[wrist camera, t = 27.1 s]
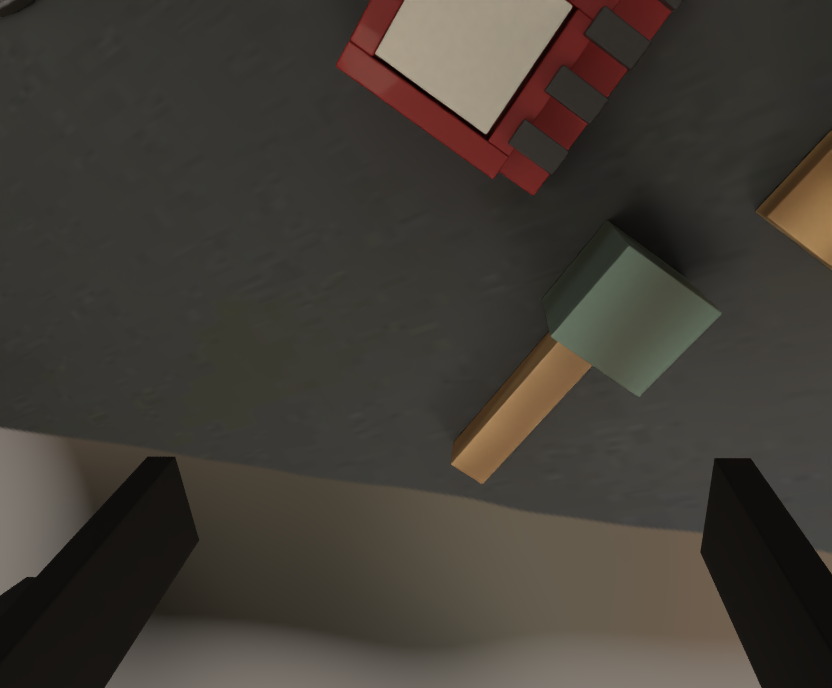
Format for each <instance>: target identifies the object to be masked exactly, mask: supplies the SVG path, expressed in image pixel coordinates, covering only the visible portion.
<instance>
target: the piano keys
mask: <svg viewBox="0 0 832 688" xmlns="http://www.w3.org/2000/svg"><path fill="white" fill-rule="evenodd" d="M658 1H659V2H660V3H662V4H663V5H664V6H665V7H667V8H668V9H669V10H670V11H674V10H676V9H677V8H678V7H679V6H680V4H681V3H682V2H683V0H658ZM583 35H584V36H585V37H586V38H587V39H589V40H590V41H591V42H592V43H594V44H595V45H596V46H598V47H599V48H600V49H601V50H603V51H604V52H605V53H607V54H608V55H609V56H610V57H612V58H613V59H614V60H616V61H617V62H618V63H619V64H621V65H622V66H623V67H625V68H626V69H627V70H630V69H632V68H633V67H634V66H635V64H636V63H637V62H638V60H639V59H640V58H641V56H642V55H643V54H644V52H645V51H646V50H647V48H648V47H649V46H650V44H651V41H650V40H648V39H647V38H646V37H645V36H643V35H642V34H641V33H640V32H638V31H637V30H636V29H634V28H633V27H632V26H631V25H629V24H628V23H627V22H626V21H624V20H623V19H622V18H621V17H619V16H618V15H617V14H615V13H614V12H613V11H612V10H610V9H609V8H608V7H607V6H603V7H602V8H601V9H600V10H599V12H598V13H597V15H596V16H595V18H594V19H593V20H592V22H591V23H590V25H589V26H588V28H587V29H586V30H585V32H584V34H583ZM544 91H545V92H546V93H547V94H549V95H550V96H551V97H552V98H554V99H555V100H556V101H558V102H559V103H560V104H562V105H563V106H564V107H566V108H567V109H568V110H570V111H571V112H572V113H574V114H575V115H576V116H578V117H579V118H580V119H582V120H583V121H584V122H586V123H587V124H591V123H592V121H593V120H594V119H595V117H596V116H597V115H598V113H599V112H600V111H601V110H602V108H603V107H604V106H605V104H606V103H607V102H608V98H607V97H606V96H604V95H603V94H602V93H600V92H599V91H598V90H596V89H595V88H594V87H592V86H591V85H590V84H589V83H587V82H586V81H585V80H583V79H582V78H581V77H579V76H578V75H577V74H575V73H574V72H573V71H572V70H570V69H569V68H568V67H566V66H565V65H561V66H560V68H559V69H558V71H557V72H556V73H555V75H554V76H553V78H552V79H551V81H550V82H549V84H548V85H547V86H546V88H545V89H544ZM508 143H509V145H511V146H512V147H514V148H515V149H516V150H518V151H519V152H520V153H522V154H523V155H525V156H526V157H527V158H529V159H530V160H531V161H533V162H534V163H535V164H537V165H538V166H540V167H541V168H542V169H544V170H545V171H546V172H548V173H549V174H551V175H553V173H554V172H555V171H556V169H557V168H558V167H559V165H560V164H561V163H562V161H563V160H564V159H565V157H566V156H567V155H568V153H569V151H568V150H567V149H565V148H564V147H563V146H561V145H560V144H559V143H557V142H556V141H555V140H553V139H552V138H551V137H549V136H548V135H547V134H545V133H544V132H543V131H541V130H540V129H539V128H537V127H536V126H534V125H533V124H532V123H530V122H529V121H528V120H526V119H523V121H522V122H521V124H520V125H519V127H518V128H517V129H516V131H515V132H514V134H513V135H512V137H511V138H510V139H509V141H508Z"/></svg>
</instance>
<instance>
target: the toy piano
mask: <svg viewBox="0 0 832 688" xmlns="http://www.w3.org/2000/svg"><path fill="white" fill-rule="evenodd" d="M566 1H567V2H569V3H570V4H571V5H572V9H571V10H570V12H569V13H568V15H567V16H566V17H565V19H564V20H563V22H562V23H561V25H560V26H559V28H558V29H557V31H556V32H555V34H554V35H553V37H552V38H551V40H550V41H549V43H548V44H547V46H546V47H545V49H544V50H543V51H542V53H541V54H540V56H539V57H538V59H537V60H536V62H535V63H534V65H533V66H532V68H531V69H530V71H529V72H528V74H527V75H526V77H525V78H524V80H523V81H522V82H521V84H520V85H519V87H518V88H517V90H516V91H515V93H514V94H513V96H512V97H511V99H510V100H509V102H508V103H507V105H506V106H505V108H504V109H503V111H502V112H501V114H500V115H499V116H498V118H497V119H496V121H495V122H494V124H493V125H492V127H491V128H490V130H489V131H488V133H487V134H484V133H483V132H482V131H480V130H479V129H477V128H476V127H475V126H473V125H472V124H471V123H469V122H468V121H467V120H465V119H464V118H462V117H461V116H460V115H458V114H457V113H456V112H454V111H453V110H451V109H450V108H449V107H447V106H446V105H445V104H443V103H442V102H440V101H439V100H438V99H436V98H435V97H434V96H432V95H431V94H429V93H428V92H427V91H425V90H424V89H423V88H421V87H420V86H418V85H417V84H416V83H414V82H413V81H412V80H410V79H409V78H408V77H406V76H405V75H403V74H402V73H401V72H399V71H398V70H397V69H395V68H394V67H392V66H391V65H390V64H388V63H387V62H386V61H384V60H383V59H381V58H380V57H379V56H377V55H376V54H375V53H376V50H377V49H378V47H379V45H380V43H381V41H382V40H383V38H384V36H385V34H386V32H387V31H388V29H389V27H390V25H391V23H392V22H393V20H394V18H395V16H396V14H397V13H398V11H399V9H400V7H401V5H402V4H403V2H404V0H370V2H369V4H368V6H367V8H366V9H365V11H364V13H363V15H362V17H361V19H360V21H359V23H358V24H357V26H356V28H355V30H354V32H353V34H352V36H351V38H350V41H349V42H348V43H347V45H346V47H345V49H344V51H343V52H342V54H341V56H340V58H339V60H338V62H337V64H336V67H337V68H339V69H340V70H341V71H343V72H344V73H345V74H347V75H348V76H350V77H351V78H352V79H354V80H355V81H357V82H358V83H359V84H361V85H362V86H364V87H365V88H366V89H368V90H369V91H371V92H372V93H373V94H375V95H376V96H378V97H379V98H380V99H382V100H383V101H384V102H386V103H387V104H389V105H390V106H391V107H393V108H394V109H396V110H397V111H398V112H400V113H401V114H403V115H404V116H405V117H407V118H408V119H410V120H411V121H412V122H414V123H415V124H417V125H418V126H419V127H421V128H422V129H423V130H425V131H426V132H428V133H429V134H430V135H432V136H433V137H435V138H436V139H437V140H439V141H440V142H442V143H443V144H444V145H446V146H447V147H449V148H450V149H451V150H453V151H454V152H456V153H457V154H458V155H460V156H461V157H462V158H464V159H465V160H467V161H468V162H469V163H471V164H472V165H474V166H475V167H476V168H478V169H479V170H481V171H482V172H483V173H485V174H486V175H488V176H489V177H490V178H492V179H494V178H495V176H496V175H497V174H498V172H500V173H502V174H503V175H505V176H506V177H507V178H509V179H510V180H512V181H513V182H514V183H516V184H517V185H519V186H520V187H521V188H523V189H524V190H525V191H527V192H528V193H530V194H531V195H533V196H534V195H535V194H536V192H537V191H538V190H539V188H540V187H541V186H542V184H543V183H544V182H545V180H546V179H547V178H548V176H549V175H550V174H549V173H548V172H546V171H545V170H544V169H542V168H541V167H540V166H538V165H537V164H535V163H534V162H533V161H531V160H530V159H529V158H527V157H526V156H525V155H523V154H522V153H520V152H519V151H518V150H516V149H515V148H514V147H512V146H511V145H509V143H508V141H509V139H510V138H511V137H512V135H513V134H514V132H515V131H516V129H517V128H518V127H519V125H520V124H521V122H522V121H523V119H526V120H528V121H529V122H530V123H532V124H533V125H534V126H536V127H537V128H539V129H540V130H541V131H543V132H544V133H545V134H547V135H548V136H549V137H551V138H552V139H553V140H555V141H556V142H557V143H559V144H560V145H561V146H563V147H564V148H565V149H567V150H569V148H570V147H571V146H572V144H573V143H574V142H575V140H576V139H577V138H578V136H579V135H580V134H581V132H582V131H583V130H584V128H585V127H586V126H587V123H586V122H584V121H583V120H582V119H580V118H579V117H578V116H576V115H575V114H574V113H572V112H571V111H570V110H568V109H567V108H566V107H564V106H563V105H562V104H560V103H559V102H558V101H556V100H555V99H554V98H552V97H551V96H550V95H549V94H547V93H546V92H545V91H544V89H545V88H546V86H547V85H548V84H549V82H550V81H551V79H552V78H553V76H554V75H555V73H556V72H557V71H558V69H559V68H560V66H561V65H565V66H566V67H568V68H569V69H570V70H572V71H573V72H574V73H575V74H577V75H578V76H579V77H581V78H582V79H583V80H585V81H586V82H587V83H589V84H590V85H591V86H592V87H594V88H595V89H596V90H598V91H599V92H600V93H602V94H603V95H604V96H606V97H608V96H609V95H610V93H611V92H612V91H613V89H614V88H615V87H616V85H617V84H618V83H619V81H620V80H621V79H622V77H623V76H624V75H625V73H626V72H627V71H628V70H627V69H626V68H625V67H623V66H622V65H621V64H619V63H618V62H617V61H616V60H614V59H613V58H612V57H610V56H609V55H608V54H607V53H605V52H604V51H603V50H601V49H600V48H599V47H598V46H596V45H595V44H594V43H592V42H591V41H590V40H589V39H587V38H586V37H585V36H584V35H583V34H584V32H585V30H586V29H587V28H588V26H589V25H590V23H591V22H592V20H593V19H594V18H595V16H596V15H597V13H598V12H599V10H600V9H601V8H602V7H603V6H607V7H608V8H609V9H610V10H612V11H613V12H614V13H615V14H617V15H618V16H619V17H621V18H622V19H623V20H624V21H626V22H627V23H628V24H629V25H631V26H632V27H633V28H634V29H636V30H637V31H638V32H640V33H641V34H642V35H643V36H645V37H646V38H647V39H648V40H651V39H652V37H653V36H654V35H655V33H656V32H657V31H658V29H659V28H660V27H661V25H662V24H663V23H664V21H665V20H666V19H667V17H668V16H669V15H670V13H671V12H672V11H670V10H669V9H668V8H667V7H665V6H664V5H663V4H662V3H660V2H659V1H658V0H566Z"/></svg>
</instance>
